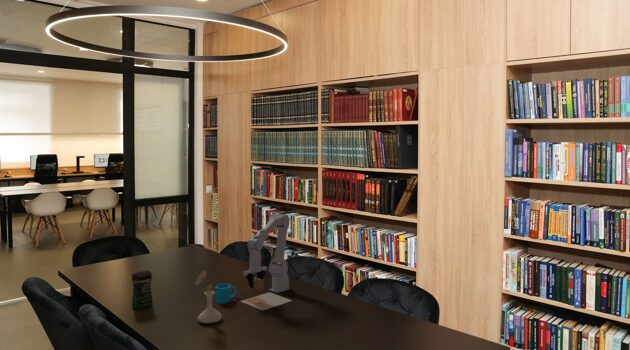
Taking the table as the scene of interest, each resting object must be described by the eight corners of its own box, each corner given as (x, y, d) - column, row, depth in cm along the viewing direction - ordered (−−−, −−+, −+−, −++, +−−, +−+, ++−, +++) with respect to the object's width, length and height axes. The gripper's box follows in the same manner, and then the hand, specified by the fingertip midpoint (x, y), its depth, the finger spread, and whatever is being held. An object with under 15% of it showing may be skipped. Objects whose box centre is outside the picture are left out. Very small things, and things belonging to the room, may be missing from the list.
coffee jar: (137, 311, 231) (136, 275, 230) (130, 307, 236) (128, 272, 235) (155, 306, 238) (154, 271, 237) (147, 302, 243) (146, 268, 242)
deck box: (263, 289, 242) (263, 279, 242) (256, 291, 239) (256, 281, 239) (254, 285, 248) (254, 276, 248) (247, 287, 244) (246, 278, 244)
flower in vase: (212, 314, 227) (211, 264, 225) (227, 320, 219) (226, 268, 218) (189, 322, 217) (188, 270, 215) (204, 328, 209) (203, 275, 207)
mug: (220, 304, 240) (220, 289, 239) (213, 300, 246) (212, 285, 246) (240, 299, 248) (240, 285, 247) (232, 295, 254) (232, 281, 253)
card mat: (269, 293, 258) (269, 292, 258) (292, 301, 245) (292, 300, 245) (240, 302, 244) (240, 301, 243) (263, 311, 230) (263, 310, 230)
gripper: (261, 257, 250) (261, 281, 251) (239, 262, 240) (239, 287, 241) (269, 259, 245) (269, 284, 246) (247, 264, 235) (248, 290, 236)
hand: (255, 286), depth 243 cm, fingers closed on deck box, 5 cm apart
